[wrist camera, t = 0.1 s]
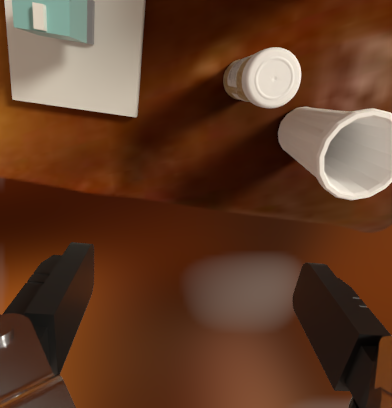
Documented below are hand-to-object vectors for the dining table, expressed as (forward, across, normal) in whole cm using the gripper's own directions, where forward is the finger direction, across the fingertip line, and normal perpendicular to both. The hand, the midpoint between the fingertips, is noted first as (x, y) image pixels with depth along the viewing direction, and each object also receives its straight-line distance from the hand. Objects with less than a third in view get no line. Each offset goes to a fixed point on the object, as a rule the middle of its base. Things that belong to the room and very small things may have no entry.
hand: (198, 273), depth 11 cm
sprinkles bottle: (+29, -6, -8) cm, 31 cm away
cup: (+29, -15, -3) cm, 33 cm away
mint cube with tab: (+24, +13, -11) cm, 29 cm away
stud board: (+29, +13, -11) cm, 34 cm away
